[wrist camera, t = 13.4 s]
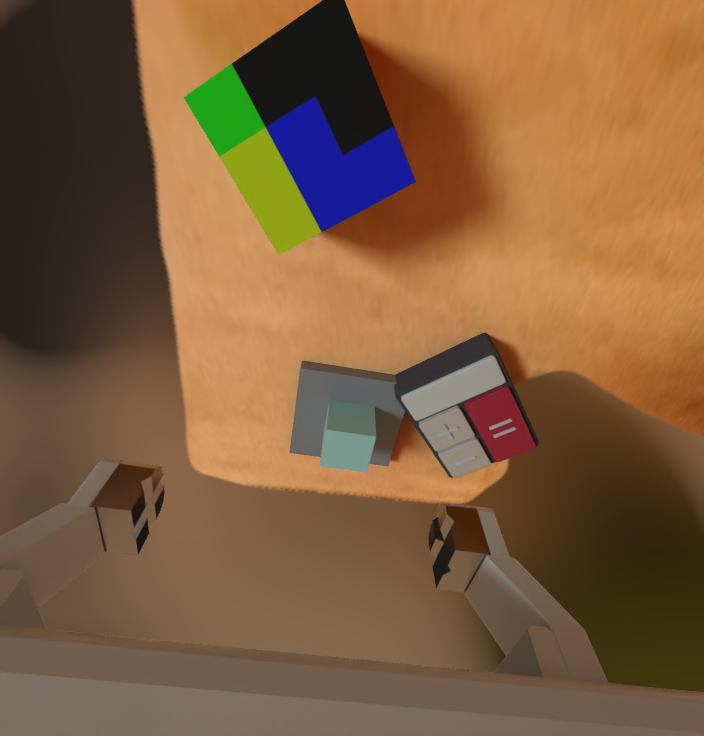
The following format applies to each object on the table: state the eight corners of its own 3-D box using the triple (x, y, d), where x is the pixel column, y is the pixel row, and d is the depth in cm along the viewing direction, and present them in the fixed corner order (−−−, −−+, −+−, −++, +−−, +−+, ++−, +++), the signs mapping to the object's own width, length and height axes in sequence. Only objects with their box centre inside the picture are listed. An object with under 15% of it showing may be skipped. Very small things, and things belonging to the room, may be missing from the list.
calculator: (451, 484, 48) (394, 400, 41) (444, 457, 52) (390, 375, 44) (543, 450, 45) (498, 352, 38) (528, 424, 49) (485, 330, 41)
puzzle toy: (400, 166, 34) (415, 181, 25) (297, 223, 36) (278, 254, 27) (344, 27, 29) (339, -12, 20) (230, 103, 31) (183, 97, 23)
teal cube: (374, 406, 44) (376, 436, 40) (365, 440, 47) (366, 472, 43) (329, 399, 44) (326, 429, 40) (323, 434, 47) (319, 465, 42)
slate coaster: (411, 377, 44) (413, 385, 43) (387, 457, 50) (388, 466, 49) (302, 360, 43) (300, 368, 42) (291, 444, 49) (289, 452, 48)
